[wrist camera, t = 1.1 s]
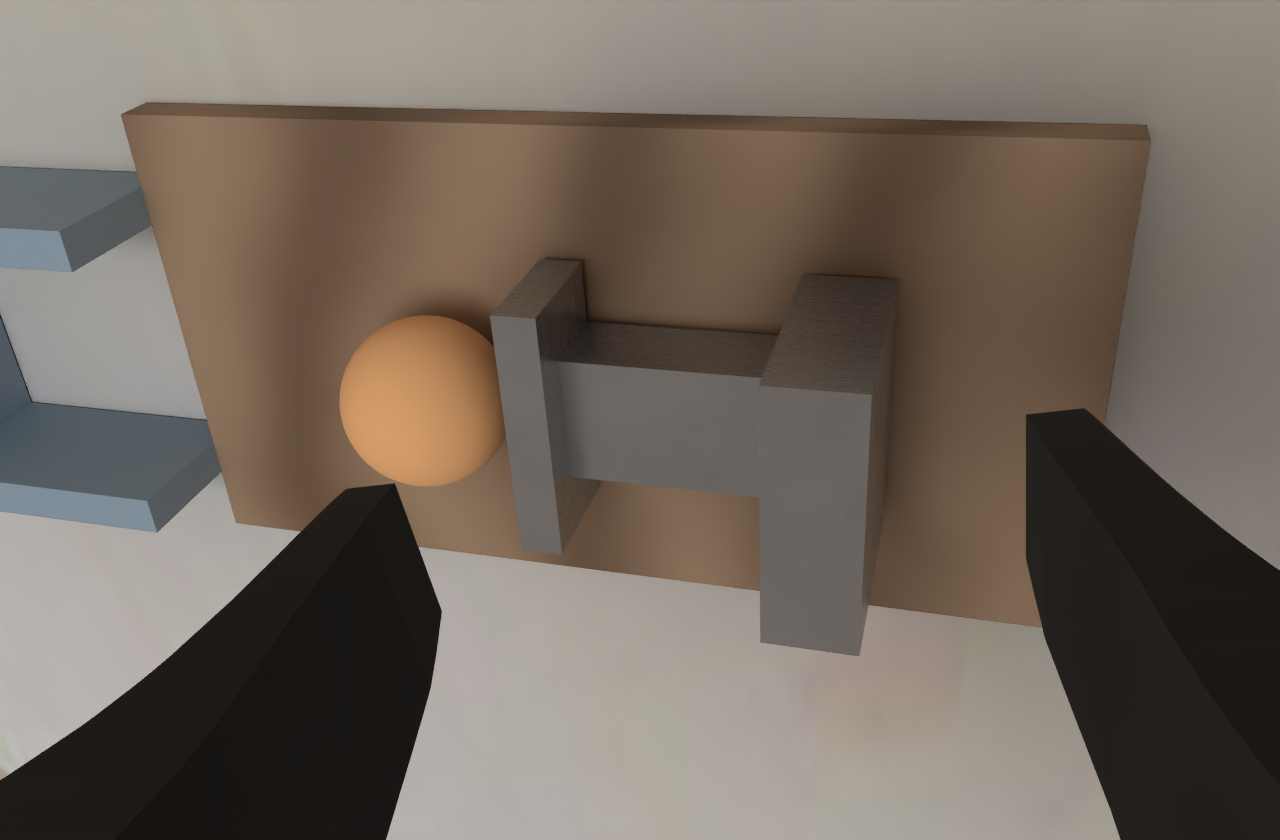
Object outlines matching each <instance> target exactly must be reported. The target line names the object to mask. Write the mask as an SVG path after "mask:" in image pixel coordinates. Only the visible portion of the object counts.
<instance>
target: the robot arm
mask: <svg viewBox="0 0 1280 840" xmlns="http://www.w3.org/2000/svg"><path fill="white" fill-rule="evenodd" d="M1026 561H1027V566H1028V570H1029V574H1030V578H1031V583H1032V587H1033V591H1034V596H1035V600H1036V604H1037V608H1038V612H1039V616H1040V620H1041V624H1042V628H1043V632H1044V636H1045V639H1046V642H1047V645H1048V647H1049V650H1050V653H1051V655H1052V658H1053V661H1054V663H1055V666H1056V669H1057V671H1058V674H1059V677H1060V679H1061V682H1062V684H1063V687H1064V690H1065V692H1066V695H1067V698H1068V700H1069V703H1070V705H1071V708H1072V711H1073V713H1074V716H1075V718H1076V721H1077V724H1078V726H1079V729H1080V731H1081V734H1082V737H1083V739H1084V742H1085V744H1086V747H1087V750H1088V752H1089V755H1090V757H1091V760H1092V763H1093V765H1094V768H1095V770H1096V773H1097V776H1098V778H1099V781H1100V783H1101V786H1102V789H1103V791H1104V794H1105V796H1106V799H1107V801H1108V804H1109V807H1110V809H1111V812H1112V815H1113V818H1114V821H1115V824H1116V827H1117V830H1118V833H1119V836H1120V839H1121V840H1280V571H1279V570H1278V569H1277V568H1275V567H1274V566H1272V565H1271V564H1270V563H1268V562H1267V561H1265V560H1264V559H1263V558H1261V557H1260V556H1258V555H1257V554H1256V553H1254V552H1253V551H1252V550H1250V549H1249V548H1247V547H1246V546H1245V545H1243V544H1242V543H1241V542H1239V541H1238V540H1237V539H1235V538H1234V537H1233V536H1232V535H1230V534H1229V533H1228V532H1226V531H1225V530H1224V529H1223V528H1221V527H1220V526H1219V525H1217V524H1216V523H1215V522H1214V521H1213V520H1211V519H1210V518H1209V517H1208V516H1206V515H1205V514H1204V513H1203V512H1202V511H1200V510H1199V509H1198V508H1197V507H1196V506H1194V505H1193V504H1192V503H1191V502H1190V501H1188V500H1187V499H1186V498H1185V497H1183V496H1182V495H1181V494H1180V493H1179V492H1177V491H1176V490H1175V489H1174V488H1173V487H1172V486H1170V485H1169V484H1168V483H1167V482H1166V481H1165V480H1164V479H1162V478H1161V477H1160V476H1159V475H1158V474H1157V473H1156V472H1155V471H1153V470H1152V469H1151V468H1150V467H1149V466H1148V465H1147V464H1146V463H1145V462H1143V461H1142V460H1141V459H1140V458H1139V457H1138V456H1137V455H1136V454H1135V453H1134V452H1132V451H1131V450H1130V449H1129V448H1128V447H1127V446H1126V445H1125V444H1124V443H1123V442H1122V441H1121V440H1119V439H1118V438H1117V437H1116V436H1115V435H1114V434H1113V433H1112V432H1111V431H1110V430H1109V429H1108V428H1107V427H1106V426H1105V425H1103V424H1102V423H1101V422H1100V421H1099V420H1098V419H1097V418H1096V417H1095V416H1094V415H1092V414H1091V413H1090V412H1089V411H1087V410H1086V409H1085V408H1081V409H1071V410H1062V411H1053V412H1044V413H1035V414H1026ZM441 613H442V611H441V608H440V605H439V603H438V600H437V597H436V594H435V592H434V589H433V586H432V583H431V581H430V578H429V575H428V572H427V570H426V567H425V564H424V561H423V559H422V556H421V553H420V551H419V548H418V545H417V542H416V540H415V537H414V534H413V531H412V529H411V526H410V523H409V520H408V518H407V515H406V512H405V509H404V507H403V504H402V501H401V499H400V496H399V493H398V490H397V488H396V485H395V483H393V484H384V485H374V486H365V487H356V488H347V489H345V490H344V491H343V492H342V493H341V494H340V495H338V496H337V497H336V498H335V499H334V500H333V501H332V502H331V503H330V504H329V505H328V506H326V507H325V508H324V509H323V510H322V511H321V512H320V513H319V514H318V515H317V516H316V517H315V518H314V519H313V520H312V521H311V522H310V523H309V524H308V525H307V526H306V527H305V528H304V529H303V530H302V531H301V532H300V533H299V534H298V535H297V536H296V537H295V538H294V539H293V540H292V541H291V542H290V543H289V544H288V545H287V546H286V547H285V548H284V549H283V550H282V551H281V552H280V553H279V554H278V555H277V556H276V557H275V558H274V559H273V560H272V561H271V562H270V563H269V564H268V565H267V566H266V567H265V568H264V569H263V570H262V571H261V572H260V573H259V574H258V575H257V576H256V577H255V578H254V579H253V580H252V581H251V582H250V583H249V584H248V585H247V586H246V587H245V588H244V589H243V590H242V591H241V592H240V593H239V594H238V595H237V596H236V597H235V598H234V599H233V600H232V601H231V602H229V603H228V604H227V605H226V606H225V607H224V608H223V609H222V610H221V611H220V612H218V613H217V614H216V615H215V616H214V617H213V618H212V619H211V620H210V621H209V622H207V623H206V624H205V625H204V626H203V627H202V628H201V629H200V630H199V631H198V632H196V633H195V634H194V635H193V636H192V637H191V638H190V639H189V640H188V641H187V642H185V643H184V644H183V645H182V646H181V647H180V648H179V649H178V650H177V651H176V652H174V653H173V654H172V655H171V656H170V657H169V658H168V659H166V660H165V661H164V662H163V663H162V664H161V665H159V666H158V667H157V668H156V669H155V670H153V671H152V672H151V673H150V674H148V675H147V676H146V677H145V678H144V679H142V680H141V681H140V682H139V683H137V684H136V685H135V686H134V687H132V688H131V689H130V690H129V691H127V692H126V693H125V694H123V695H122V696H121V697H119V698H118V699H117V700H115V701H114V702H113V703H112V704H110V705H109V706H108V707H106V708H105V709H104V710H102V711H101V712H100V713H99V714H97V715H96V716H95V717H93V718H92V719H90V720H89V721H88V722H86V723H85V724H84V725H82V726H81V727H79V728H78V729H76V730H75V731H73V732H72V733H70V734H69V735H67V736H66V737H64V738H63V739H61V740H60V741H59V742H57V743H56V744H54V745H53V746H51V747H50V748H48V749H47V750H45V751H44V752H42V753H41V754H39V755H38V756H36V757H35V758H33V759H32V760H30V761H29V762H27V763H26V764H24V765H23V766H21V767H20V768H18V769H17V770H15V771H14V772H12V773H11V774H9V775H8V776H6V777H5V778H3V779H2V780H0V840H386V838H387V834H388V831H389V828H390V824H391V821H392V818H393V814H394V811H395V808H396V804H397V801H398V798H399V794H400V791H401V788H402V784H403V781H404V778H405V774H406V771H407V768H408V764H409V761H410V758H411V754H412V751H413V748H414V744H415V741H416V737H417V734H418V730H419V727H420V723H421V720H422V717H423V713H424V710H425V706H426V703H427V699H428V695H429V692H430V688H431V682H432V676H433V670H434V664H435V658H436V652H437V644H438V636H439V629H440V621H441Z"/></svg>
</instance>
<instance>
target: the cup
mask: <svg viewBox="0 0 1280 840" xmlns="http://www.w3.org/2000/svg"><path fill="white" fill-rule="evenodd" d="M151 225H152V223H151V220H150V216H149V213H148V209H147V206H146V202H145V199H144V195H143V191H142V188H141V184H140V181H139V177H138V174H137V172H117V171H93V170H68V169H43V168H19V167H0V267H4V268H19V269H34V270H48V271H63V272H73V271H75V270H77V269H78V268H80V267H82V266H83V265H85V264H87V263H89V262H90V261H92V260H94V259H95V258H97V257H99V256H100V255H102V254H104V253H105V252H107V251H109V250H110V249H112V248H114V247H115V246H117V245H119V244H121V243H122V242H124V241H126V240H127V239H129V238H131V237H132V236H134V235H136V234H137V233H139V232H141V231H142V230H144V229H146V228H147V227H149V226H151ZM220 472H221V467H220V464H219V460H218V457H217V453H216V450H215V446H214V443H213V439H212V436H211V432H210V429H209V425H208V421H206V420H197V419H187V418H178V417H168V416H158V415H149V414H139V413H130V412H120V411H110V410H101V409H91V408H81V407H72V406H62V405H53V404H43V403H33V402H31V400H30V397H29V394H28V392H27V389H26V386H25V384H24V381H23V378H22V375H21V373H20V370H19V367H18V364H17V362H16V359H15V356H14V354H13V351H12V348H11V345H10V343H9V340H8V337H7V334H6V332H5V329H4V326H3V324H2V321H1V318H0V511H1V512H9V513H16V514H24V515H31V516H39V517H46V518H53V519H61V520H68V521H76V522H83V523H90V524H98V525H105V526H113V527H120V528H128V529H135V530H142V531H150V532H158V531H159V530H160V529H161V528H162V527H163V526H164V525H166V524H167V523H168V522H169V521H170V520H171V519H172V518H173V517H174V516H175V515H176V514H177V513H178V512H179V511H180V510H181V509H182V508H183V507H184V506H186V505H187V504H188V503H189V502H190V501H191V500H192V499H193V498H194V497H195V496H196V495H197V494H198V493H199V492H200V491H201V490H202V489H203V488H204V487H206V486H207V485H208V484H209V483H210V482H211V481H212V480H213V479H214V478H215V477H216V476H217V475H218V474H219V473H220Z"/></svg>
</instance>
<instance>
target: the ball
mask: <svg viewBox="0 0 1280 840" xmlns="http://www.w3.org/2000/svg"><path fill="white" fill-rule="evenodd" d="M339 406H340V414H341V419H342V423H343V427H344V430H345V432H346V435H347V437H348V439H349V441H350V442H351V444H352V446H353V447H354V449H355V450H356V452H357V453H358V454H359V455H360V457H361V458H362V459H363V460H364V461H365V462H366V463H367V464H368V465H369V466H371V467H372V468H373V469H374V470H376V471H377V472H379V473H380V474H382V475H384V476H386V477H388V478H390V479H392V480H395V481H397V482H401V483H404V484H408V485H413V486H440V485H445V484H450V483H453V482H456V481H459V480H461V479H463V478H465V477H467V476H469V475H471V474H473V473H474V472H476V471H477V470H478V469H480V468H481V467H482V466H484V465H485V464H486V463H487V462H488V461H489V460H490V459H491V458H492V457H493V456H494V454H495V453H496V452H497V450H498V449H499V448H500V446H501V444H502V443H503V441H504V439H505V437H506V432H505V424H504V417H503V409H502V402H501V394H500V387H499V380H498V372H497V365H496V357H495V350H494V346H493V345H492V344H491V343H490V342H489V341H488V340H487V339H486V338H485V337H484V336H482V335H481V334H480V333H479V332H477V331H476V330H474V329H473V328H471V327H469V326H467V325H465V324H463V323H461V322H458V321H456V320H453V319H450V318H446V317H441V316H429V315H420V316H412V317H407V318H403V319H399V320H396V321H394V322H391V323H389V324H387V325H385V326H383V327H382V328H380V329H378V330H377V331H375V332H374V333H373V334H371V335H370V336H369V337H368V338H367V339H366V340H364V342H363V343H362V344H361V345H360V346H359V347H358V349H357V350H356V351H355V352H354V354H353V356H352V357H351V359H350V361H349V363H348V365H347V367H346V369H345V372H344V375H343V378H342V382H341V387H340V402H339Z"/></svg>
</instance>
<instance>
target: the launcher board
mask: <svg viewBox="0 0 1280 840" xmlns="http://www.w3.org/2000/svg"><path fill="white" fill-rule="evenodd" d="M121 117H122V121H123V124H124V128H125V131H126V135H127V138H128V142H129V145H130V149H131V153H132V156H133V160H134V163H135V167H136V170H137V174H138V177H139V181H140V184H141V188H142V191H143V195H144V199H145V202H146V206H147V209H148V213H149V216H150V220H151V223H152V227H153V230H154V234H155V237H156V241H157V245H158V248H159V252H160V255H161V259H162V262H163V266H164V269H165V273H166V276H167V280H168V283H169V287H170V291H171V294H172V298H173V301H174V305H175V308H176V312H177V315H178V319H179V322H180V326H181V329H182V333H183V337H184V340H185V344H186V347H187V351H188V354H189V358H190V361H191V365H192V368H193V372H194V375H195V379H196V383H197V386H198V390H199V393H200V397H201V400H202V404H203V407H204V411H205V414H206V418H207V421H208V425H209V429H210V432H211V436H212V439H213V443H214V446H215V450H216V453H217V457H218V460H219V464H220V467H221V471H222V475H223V478H224V482H225V485H226V489H227V492H228V496H229V499H230V503H231V506H232V510H233V513H234V517H235V521H236V523H240V524H248V525H256V526H263V527H271V528H279V529H286V530H294V531H302V530H303V529H304V528H305V527H306V526H307V525H308V524H309V523H310V522H311V521H312V520H313V519H314V518H315V517H316V516H317V515H318V514H319V513H320V512H321V511H322V510H323V509H324V508H325V507H326V506H328V505H329V504H330V503H331V502H332V501H333V500H334V499H335V498H336V497H337V496H338V495H340V494H341V493H342V492H343V491H344V490H345V489H347V488H356V487H365V486H374V485H384V484H393V483H395V485H396V488H397V490H398V493H399V496H400V499H401V501H402V504H403V507H404V509H405V512H406V515H407V518H408V520H409V523H410V526H411V529H412V531H413V534H414V537H415V540H416V542H417V545H418V547H425V548H433V549H441V550H449V551H456V552H464V553H472V554H479V555H487V556H495V557H503V558H510V559H518V560H526V561H533V562H541V563H549V564H557V565H564V566H572V567H580V568H587V569H595V570H603V571H611V572H618V573H626V574H634V575H641V576H649V577H657V578H665V579H672V580H680V581H688V582H695V583H703V584H711V585H719V586H726V587H734V588H742V589H750V590H757V591H760V504H759V497H752V496H742V495H733V494H724V493H715V492H705V491H696V490H687V489H678V488H669V487H659V486H650V485H641V484H632V483H622V482H613V481H604V480H601V485H600V487H599V489H598V490H597V492H596V494H595V496H594V498H593V499H592V501H591V503H590V505H589V507H588V509H587V510H586V512H585V514H584V516H583V518H582V520H581V521H580V523H579V525H578V527H577V529H576V530H575V532H574V534H573V536H572V538H571V540H570V541H569V543H568V545H567V547H566V549H565V551H564V552H563V554H562V555H559V554H551V553H543V552H535V551H527V550H521V543H520V535H519V528H518V521H517V513H516V506H515V498H514V491H513V483H512V476H511V469H510V461H509V454H508V446H507V439H506V437H505V439H504V441H503V443H502V444H501V446H500V448H499V449H498V450H497V452H496V453H495V454H494V456H493V457H492V458H491V459H490V460H489V461H488V462H487V463H486V464H485V465H484V466H482V467H481V468H480V469H478V470H477V471H476V472H474V473H473V474H471V475H469V476H467V477H465V478H463V479H461V480H459V481H456V482H453V483H450V484H445V485H440V486H413V485H408V484H404V483H401V482H397V481H395V480H392V479H390V478H388V477H386V476H384V475H382V474H380V473H379V472H377V471H376V470H374V469H373V468H372V467H371V466H369V465H368V464H367V463H366V462H365V461H364V460H363V459H362V458H361V457H360V455H359V454H358V453H357V452H356V450H355V449H354V447H353V446H352V444H351V442H350V441H349V439H348V437H347V435H346V432H345V430H344V427H343V423H342V419H341V414H340V406H339V402H340V387H341V382H342V378H343V375H344V372H345V369H346V367H347V365H348V363H349V361H350V359H351V357H352V356H353V354H354V352H355V351H356V350H357V349H358V347H359V346H360V345H361V344H362V343H363V342H364V340H366V339H367V338H368V337H369V336H370V335H371V334H373V333H374V332H375V331H377V330H378V329H380V328H382V327H383V326H385V325H387V324H389V323H391V322H394V321H396V320H399V319H403V318H407V317H412V316H420V315H429V316H441V317H446V318H450V319H453V320H456V321H458V322H461V323H463V324H465V325H467V326H469V327H471V328H473V329H474V330H476V331H477V332H479V333H480V334H481V335H482V336H484V337H485V338H486V339H487V340H488V341H489V342H490V343H491V344H492V345H493V346H494V343H493V335H492V328H491V320H490V315H491V314H492V313H493V311H494V310H495V309H496V308H497V307H498V306H499V305H500V303H501V302H502V301H503V300H504V299H505V298H506V297H507V296H508V294H509V293H510V292H511V291H512V290H513V289H514V288H515V286H516V285H517V284H518V283H519V282H520V281H521V280H522V279H523V277H524V276H525V275H526V274H527V273H528V272H529V271H530V269H531V268H532V267H533V266H534V265H535V264H536V263H537V261H538V260H539V259H546V260H563V261H581V264H582V275H583V287H584V298H585V309H586V320H587V322H597V323H611V324H625V325H639V326H653V327H667V328H681V329H695V330H709V331H723V332H737V333H751V334H765V335H779V333H780V330H781V328H782V325H783V323H784V320H785V318H786V315H787V313H788V310H789V308H790V305H791V303H792V300H793V298H794V295H795V293H796V290H797V287H798V285H799V282H800V280H801V277H802V275H803V274H807V275H824V276H842V277H859V278H877V279H894V280H898V288H897V305H896V322H895V340H894V357H893V375H892V392H891V410H890V427H889V444H888V462H887V479H886V497H885V514H884V520H883V526H882V531H881V537H880V543H879V548H878V554H877V559H876V565H875V571H874V576H873V582H872V587H871V593H870V599H869V604H868V605H873V606H881V607H888V608H896V609H904V610H912V611H919V612H927V613H935V614H942V615H950V616H958V617H966V618H973V619H981V620H989V621H996V622H1004V623H1012V624H1020V625H1027V626H1035V627H1042V624H1041V620H1040V616H1039V612H1038V608H1037V604H1036V600H1035V596H1034V591H1033V587H1032V583H1031V578H1030V574H1029V570H1028V566H1027V561H1026V414H1035V413H1044V412H1053V411H1062V410H1071V409H1081V408H1085V409H1086V410H1087V411H1089V412H1090V413H1091V414H1092V415H1094V416H1095V417H1096V418H1097V419H1098V420H1099V421H1100V422H1101V423H1102V424H1103V425H1104V422H1105V416H1106V410H1107V404H1108V398H1109V392H1110V386H1111V379H1112V373H1113V367H1114V361H1115V355H1116V349H1117V343H1118V337H1119V331H1120V325H1121V319H1122V313H1123V306H1124V300H1125V294H1126V288H1127V282H1128V276H1129V270H1130V264H1131V258H1132V252H1133V246H1134V240H1135V234H1136V227H1137V221H1138V215H1139V209H1140V203H1141V197H1142V191H1143V185H1144V179H1145V173H1146V167H1147V161H1148V155H1149V148H1150V142H1151V140H1150V136H1149V133H1148V129H1147V125H1118V124H1074V123H1029V122H984V121H939V120H894V119H849V118H805V117H760V116H715V115H670V114H625V113H581V112H536V111H491V110H446V109H401V108H357V107H312V106H267V105H222V104H177V103H145V104H143V105H140V106H138V107H136V108H134V109H132V110H129V111H127V112H125V113H123V114H121Z"/></svg>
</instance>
